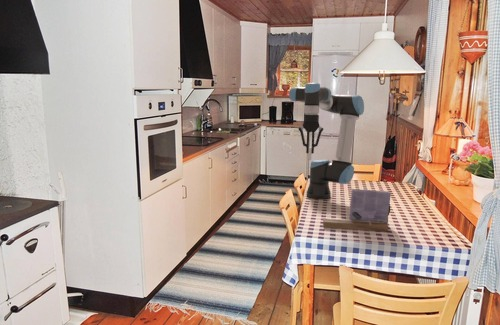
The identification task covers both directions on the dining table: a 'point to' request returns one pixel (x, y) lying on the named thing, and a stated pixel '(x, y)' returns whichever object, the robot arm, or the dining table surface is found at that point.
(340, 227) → the walnut board
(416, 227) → the dining table surface
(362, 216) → the cake pan box
